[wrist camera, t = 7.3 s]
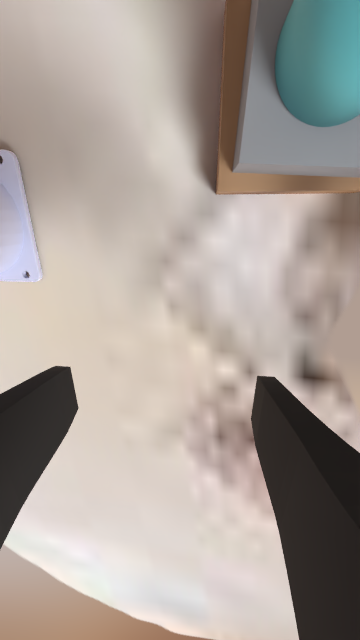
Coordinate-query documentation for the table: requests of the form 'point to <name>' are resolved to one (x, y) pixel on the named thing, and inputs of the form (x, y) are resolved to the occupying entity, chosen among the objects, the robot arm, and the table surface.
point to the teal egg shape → (320, 61)
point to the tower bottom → (229, 112)
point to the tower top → (284, 114)
